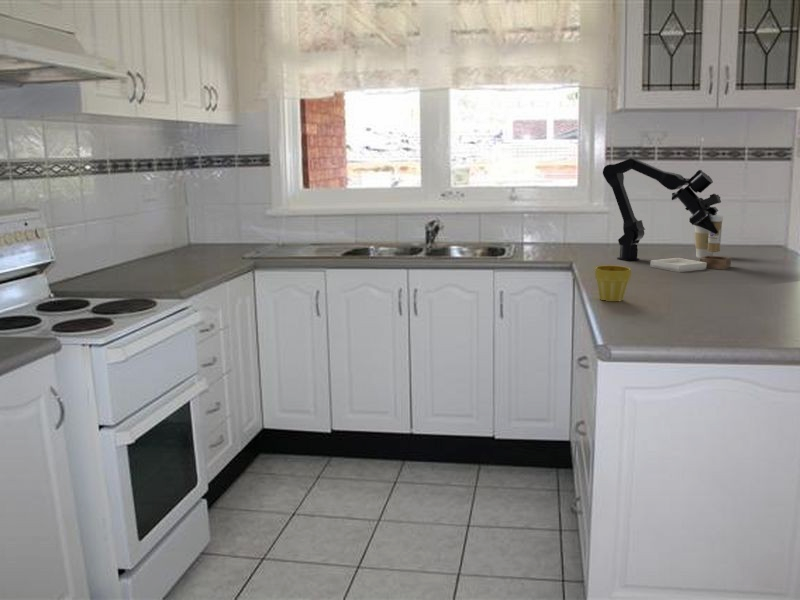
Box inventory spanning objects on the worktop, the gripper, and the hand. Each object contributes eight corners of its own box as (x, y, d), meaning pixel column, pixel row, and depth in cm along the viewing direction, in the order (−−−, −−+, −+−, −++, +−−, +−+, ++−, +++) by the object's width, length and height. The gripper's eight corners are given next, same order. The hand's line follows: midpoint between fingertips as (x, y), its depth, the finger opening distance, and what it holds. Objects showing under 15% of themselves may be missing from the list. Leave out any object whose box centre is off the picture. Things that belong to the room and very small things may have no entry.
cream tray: (650, 266, 293) (650, 260, 293) (677, 264, 300) (677, 257, 299) (678, 272, 281) (679, 265, 281) (706, 269, 288) (706, 262, 287)
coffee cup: (719, 259, 312) (722, 221, 309) (693, 258, 314) (696, 221, 311) (714, 255, 321) (717, 219, 318) (689, 255, 323) (692, 219, 320)
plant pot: (631, 303, 228) (633, 271, 226) (594, 302, 229) (596, 270, 227) (627, 297, 238) (629, 265, 236) (592, 296, 239) (594, 264, 237)
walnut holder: (699, 267, 292) (700, 258, 291) (705, 264, 299) (706, 255, 298) (724, 269, 286) (725, 260, 286) (730, 266, 294) (731, 257, 293)
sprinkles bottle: (705, 251, 291) (707, 216, 288) (709, 249, 295) (712, 214, 291) (717, 252, 288) (720, 217, 285) (722, 250, 292) (724, 215, 288)
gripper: (701, 187, 281) (730, 220, 277) (714, 185, 296) (742, 216, 292) (677, 208, 287) (705, 240, 283) (691, 204, 302) (718, 235, 298)
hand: (718, 232), depth 289 cm, fingers closed on sprinkles bottle, 4 cm apart
